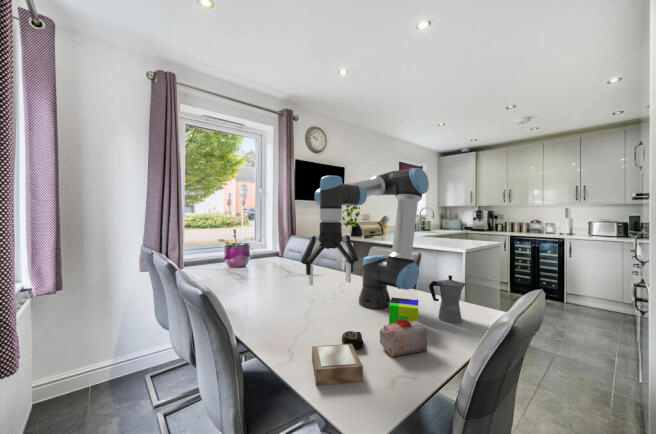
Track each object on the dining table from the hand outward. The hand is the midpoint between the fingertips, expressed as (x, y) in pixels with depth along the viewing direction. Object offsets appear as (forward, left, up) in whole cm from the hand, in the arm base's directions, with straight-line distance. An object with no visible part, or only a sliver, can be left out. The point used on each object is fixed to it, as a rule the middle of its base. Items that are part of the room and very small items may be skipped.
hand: (329, 283), depth 92 cm
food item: (-22, +11, -19) cm, 31 cm away
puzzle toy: (-29, -4, -19) cm, 35 cm away
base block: (+1, +19, -19) cm, 27 cm away
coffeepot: (-51, -11, -19) cm, 56 cm away
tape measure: (-7, +6, -20) cm, 22 cm away
